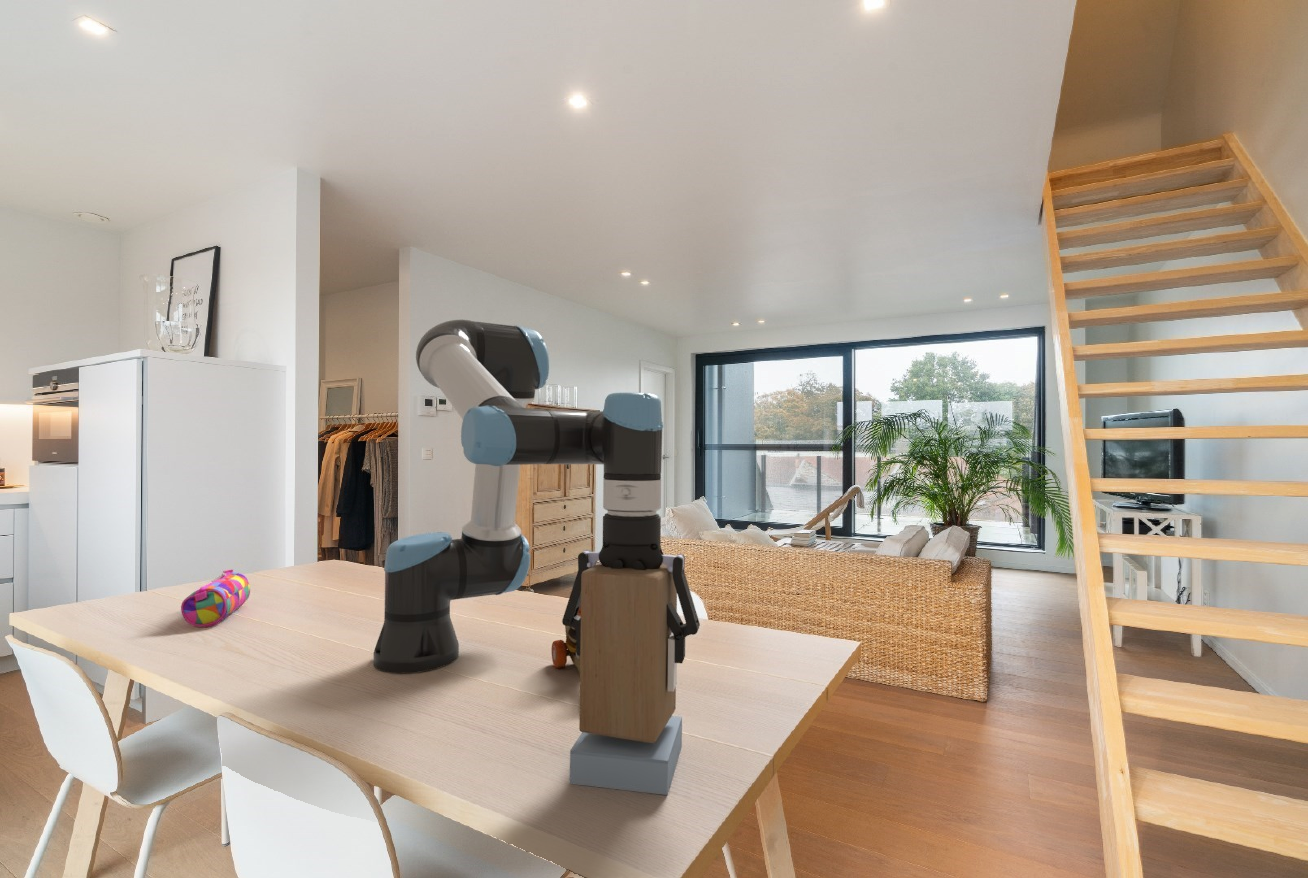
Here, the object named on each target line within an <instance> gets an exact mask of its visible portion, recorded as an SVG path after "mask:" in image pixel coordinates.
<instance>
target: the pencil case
mask: <svg viewBox="0 0 1308 878" xmlns="http://www.w3.org/2000/svg"><path fill="white" fill-rule="evenodd" d="M248 580H249V579H248V578H247V577H246V575H244V574H242V573H239V572H234V569H228V570H223V571H222V574H221V575H219V576H218V577H216V578H214V579H213V580H211V582H209V583H208V584H206V585H203V586H200V588H198V589H197V590H195V591H193V592H191V594H190V595H188V596H186V597H185V598H184V599H183V600H182V603H181V605H180V610H181V615H182V617H183V619H184V620H185V621H186V623H188V624H189V625H191V626H194V627H197V628H198V627H199V628H208V627H212V626H216V625H217V624H219V623H220V622H221V621H222V620H224V619H226V618H227V617H229V616H230V615H231V614H232V613H233V612H235V611H236V610H238V609H239V608H240V607H241V606H243V605H244V604H245V602H247V601H248V599H249V597H250V595H251V585H250V582H249V581H248Z"/></svg>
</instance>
